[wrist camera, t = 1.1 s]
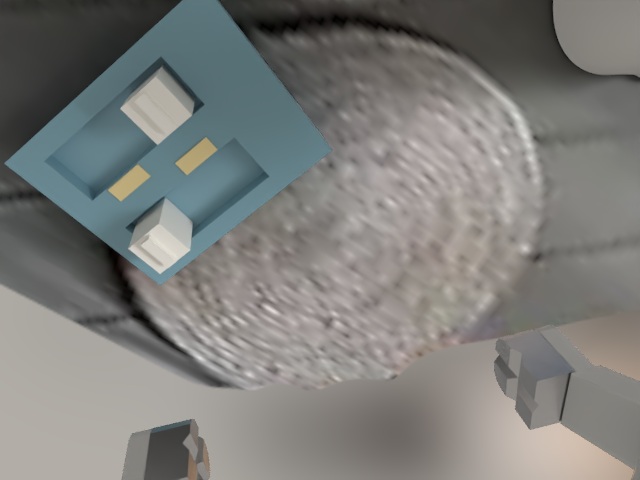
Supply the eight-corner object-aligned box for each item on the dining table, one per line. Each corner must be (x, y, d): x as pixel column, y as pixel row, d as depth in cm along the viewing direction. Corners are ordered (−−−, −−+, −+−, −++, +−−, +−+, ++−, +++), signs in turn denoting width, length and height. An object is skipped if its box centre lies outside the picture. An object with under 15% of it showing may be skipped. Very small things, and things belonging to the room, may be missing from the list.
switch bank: (203, -19, 31) (202, -18, 28) (323, 136, 38) (332, 150, 35) (22, 147, 34) (3, 164, 31) (164, 263, 41) (160, 286, 38)
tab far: (165, 196, 36) (158, 227, 32) (192, 222, 38) (189, 254, 33) (137, 219, 37) (126, 252, 32) (165, 243, 38) (159, 278, 34)
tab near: (163, 64, 31) (154, 78, 27) (195, 98, 33) (191, 117, 29) (131, 92, 32) (118, 111, 28) (164, 125, 33) (156, 148, 29)
